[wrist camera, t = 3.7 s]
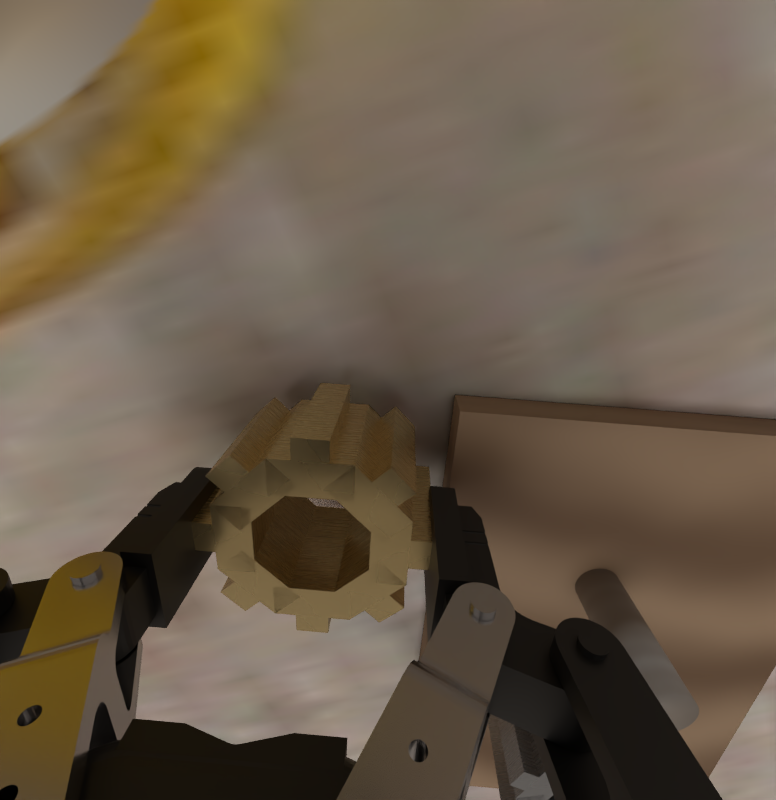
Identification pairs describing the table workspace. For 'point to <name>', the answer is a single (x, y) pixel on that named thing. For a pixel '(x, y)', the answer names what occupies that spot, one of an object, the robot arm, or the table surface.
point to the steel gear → (517, 763)
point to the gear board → (633, 543)
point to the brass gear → (319, 511)
